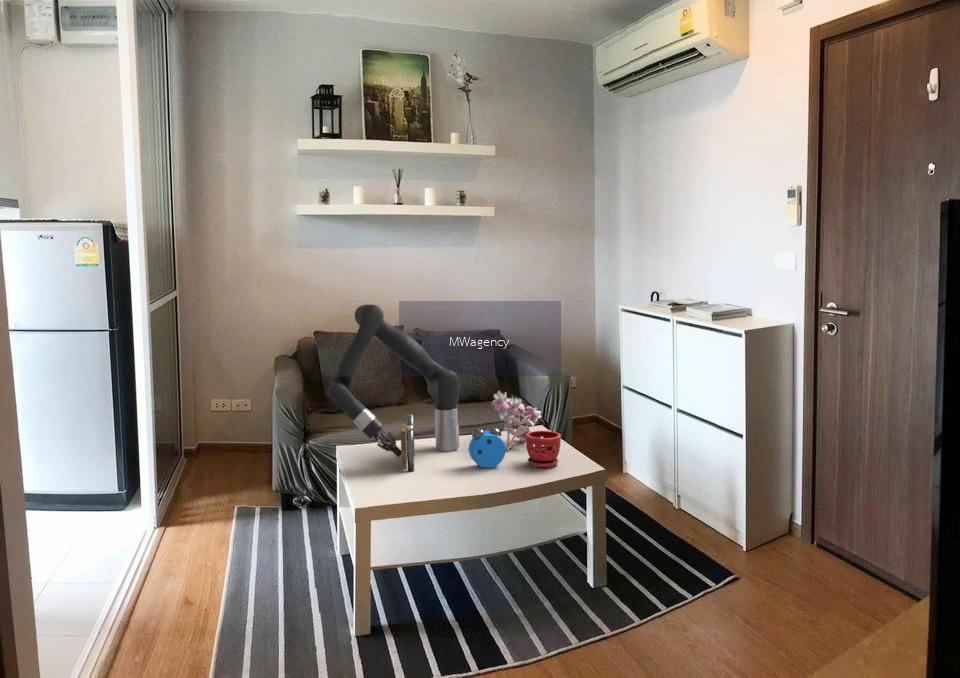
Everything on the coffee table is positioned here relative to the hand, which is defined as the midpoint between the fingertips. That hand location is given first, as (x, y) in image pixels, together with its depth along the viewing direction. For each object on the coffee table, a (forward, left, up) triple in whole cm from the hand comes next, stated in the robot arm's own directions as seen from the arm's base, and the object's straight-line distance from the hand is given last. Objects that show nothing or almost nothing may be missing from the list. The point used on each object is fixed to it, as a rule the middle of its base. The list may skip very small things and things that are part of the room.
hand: (400, 455), depth 269 cm
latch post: (-4, +2, -5) cm, 7 cm away
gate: (0, -5, -4) cm, 7 cm away
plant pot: (-53, -11, -5) cm, 55 cm away
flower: (-40, -38, -5) cm, 55 cm away
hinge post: (0, -16, -5) cm, 17 cm away
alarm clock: (-32, -6, -5) cm, 33 cm away
